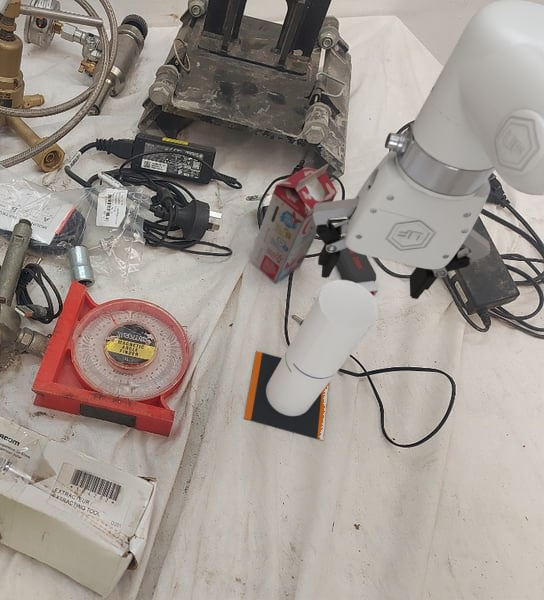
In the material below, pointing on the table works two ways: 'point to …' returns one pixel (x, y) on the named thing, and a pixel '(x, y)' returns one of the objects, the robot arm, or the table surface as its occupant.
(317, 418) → the mat
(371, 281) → the usb drive
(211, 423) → the table surface
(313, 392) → the cylindrical container
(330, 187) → the juice carton
